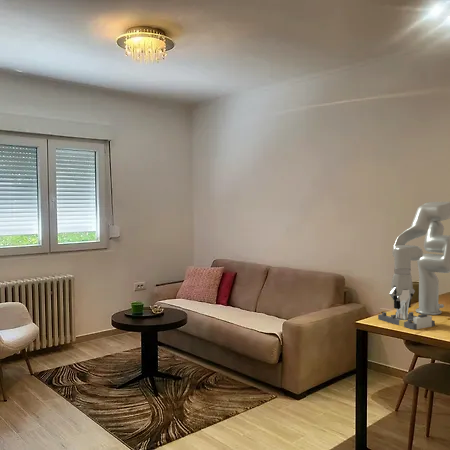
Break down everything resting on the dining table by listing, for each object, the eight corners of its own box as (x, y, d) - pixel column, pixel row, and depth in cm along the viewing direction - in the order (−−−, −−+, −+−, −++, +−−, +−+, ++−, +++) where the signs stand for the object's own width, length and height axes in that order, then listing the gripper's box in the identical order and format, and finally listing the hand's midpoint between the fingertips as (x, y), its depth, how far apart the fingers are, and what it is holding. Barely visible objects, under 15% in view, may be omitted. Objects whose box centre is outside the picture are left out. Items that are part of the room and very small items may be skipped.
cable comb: (398, 316, 233) (398, 304, 233) (434, 326, 214) (434, 313, 213) (378, 319, 227) (378, 307, 227) (413, 329, 207) (413, 316, 207)
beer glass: (394, 316, 227) (394, 287, 226) (409, 317, 224) (409, 287, 224) (394, 319, 220) (394, 289, 220) (409, 321, 218) (409, 290, 217)
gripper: (409, 269, 229) (409, 304, 229) (383, 272, 221) (383, 308, 222) (421, 271, 222) (421, 307, 222) (395, 273, 214) (395, 311, 215)
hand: (402, 307), depth 222 cm, fingers closed on beer glass, 6 cm apart
